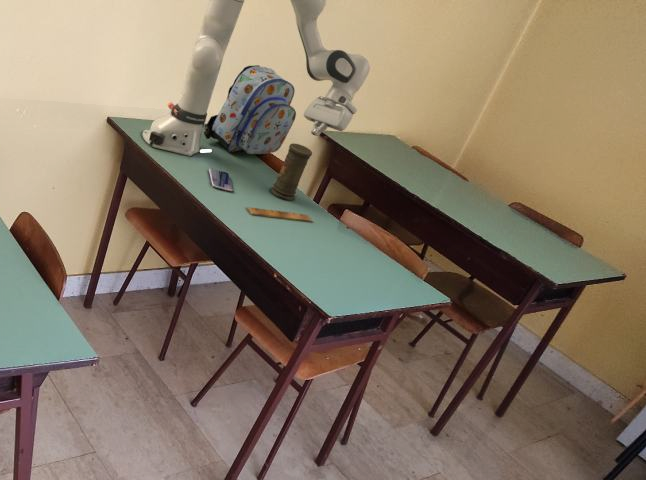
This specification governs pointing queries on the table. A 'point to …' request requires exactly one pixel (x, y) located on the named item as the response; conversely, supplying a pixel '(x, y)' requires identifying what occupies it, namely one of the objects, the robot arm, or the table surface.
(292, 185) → the container
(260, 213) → the ruler
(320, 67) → the robot arm
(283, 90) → the backpack
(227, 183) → the mobile phone
